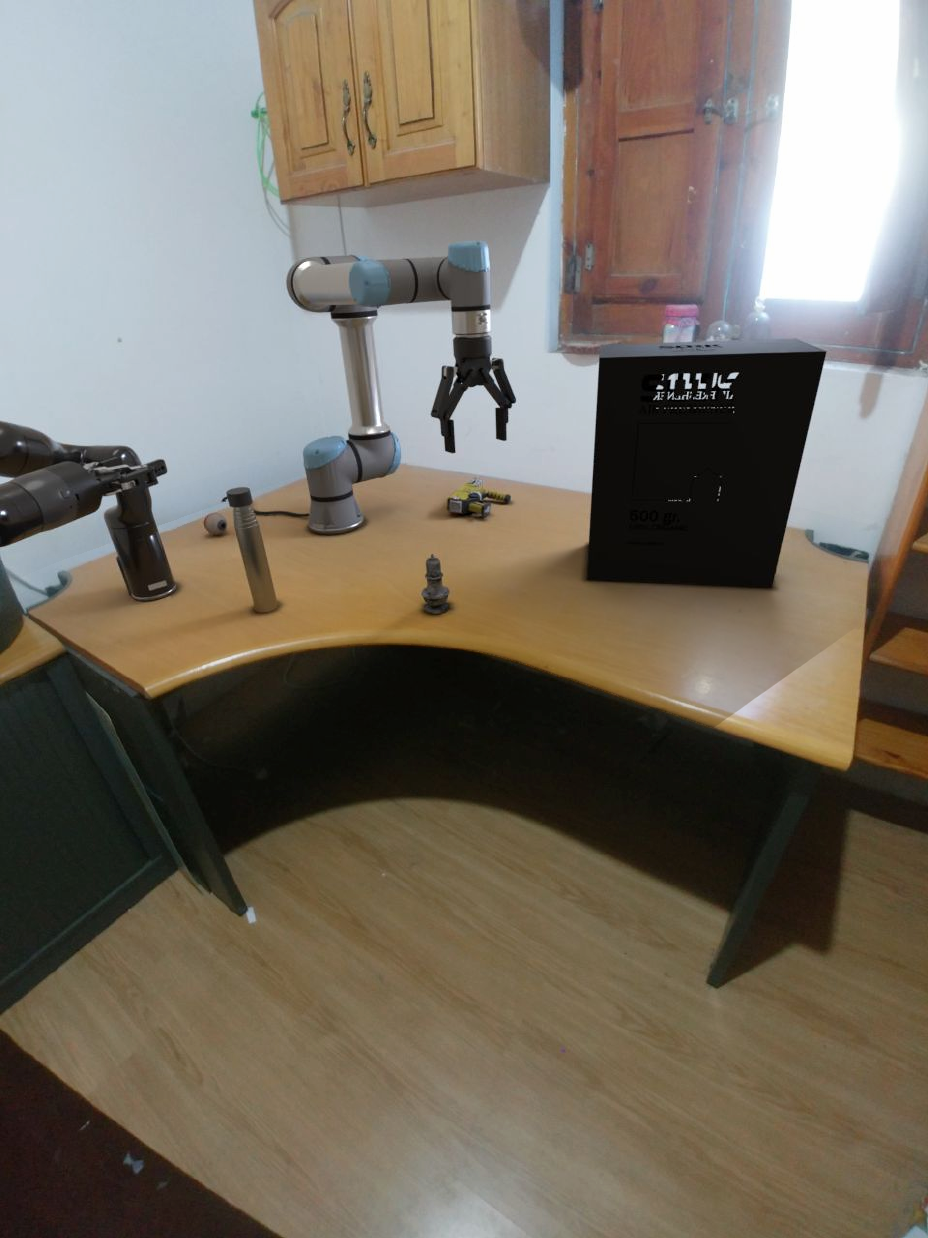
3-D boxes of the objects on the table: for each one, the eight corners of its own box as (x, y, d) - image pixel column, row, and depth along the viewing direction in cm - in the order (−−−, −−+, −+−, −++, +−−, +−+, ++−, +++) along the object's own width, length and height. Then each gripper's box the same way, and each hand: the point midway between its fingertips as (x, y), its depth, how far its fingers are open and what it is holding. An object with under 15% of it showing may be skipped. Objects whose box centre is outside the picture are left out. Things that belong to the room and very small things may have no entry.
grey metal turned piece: (447, 614, 122) (443, 560, 116) (419, 613, 123) (413, 559, 117) (453, 601, 127) (450, 548, 121) (426, 599, 128) (421, 547, 122)
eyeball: (217, 539, 164) (211, 518, 161) (202, 535, 167) (196, 515, 164) (234, 532, 168) (229, 511, 166) (220, 528, 172) (214, 508, 169)
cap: (244, 508, 115) (241, 494, 114) (224, 507, 116) (221, 493, 115) (257, 500, 119) (254, 487, 117) (237, 499, 120) (234, 486, 118)
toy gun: (519, 482, 184) (472, 475, 188) (496, 505, 164) (445, 497, 168) (517, 497, 186) (471, 490, 190) (495, 522, 166) (444, 513, 170)
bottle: (270, 613, 126) (242, 496, 114) (251, 611, 127) (220, 496, 115) (282, 603, 130) (255, 489, 118) (262, 601, 131) (234, 488, 119)
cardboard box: (752, 548, 142) (795, 338, 119) (772, 587, 124) (826, 351, 102) (589, 543, 149) (600, 344, 127) (586, 579, 132) (599, 357, 110)
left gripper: (25, 520, 85) (115, 485, 98) (102, 527, 81) (186, 490, 94) (2, 467, 82) (99, 438, 95) (81, 472, 77) (172, 441, 90)
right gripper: (429, 342, 108) (437, 460, 118) (533, 329, 120) (532, 437, 131) (407, 340, 113) (417, 454, 124) (508, 328, 125) (510, 432, 136)
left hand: (142, 464), depth 94 cm, fingers open, 8 cm apart
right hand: (476, 445), depth 127 cm, fingers open, 13 cm apart
